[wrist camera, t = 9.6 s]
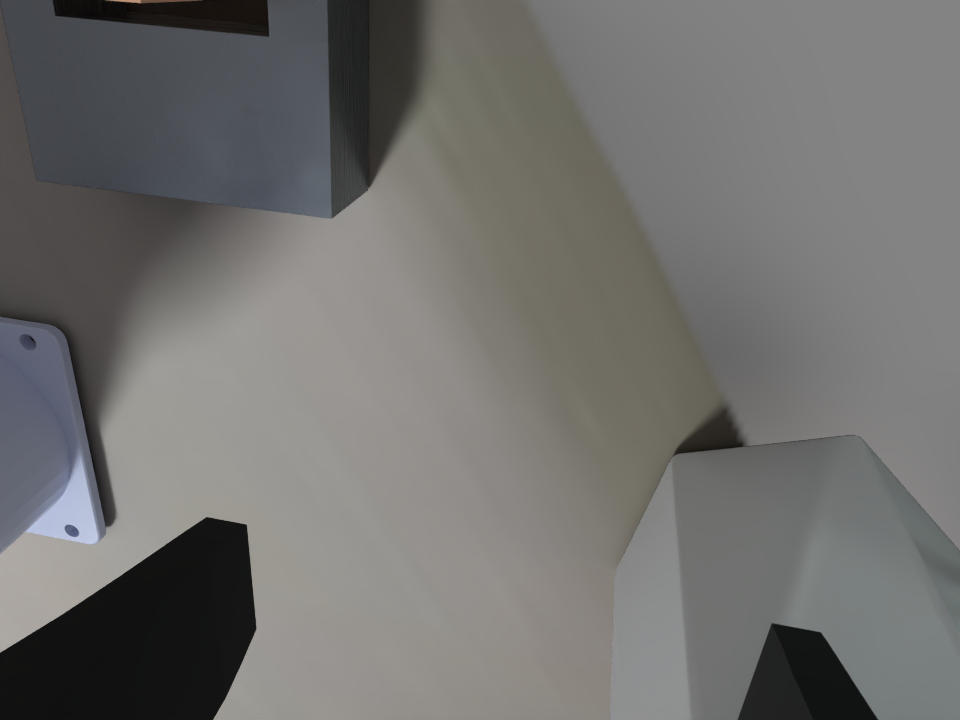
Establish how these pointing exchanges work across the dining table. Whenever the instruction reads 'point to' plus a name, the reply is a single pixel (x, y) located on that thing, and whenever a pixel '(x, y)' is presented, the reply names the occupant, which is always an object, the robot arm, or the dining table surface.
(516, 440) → the dining table surface
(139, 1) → the tan block
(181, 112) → the grey slotted tray
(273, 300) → the dining table surface
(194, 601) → the robot arm
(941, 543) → the jar
